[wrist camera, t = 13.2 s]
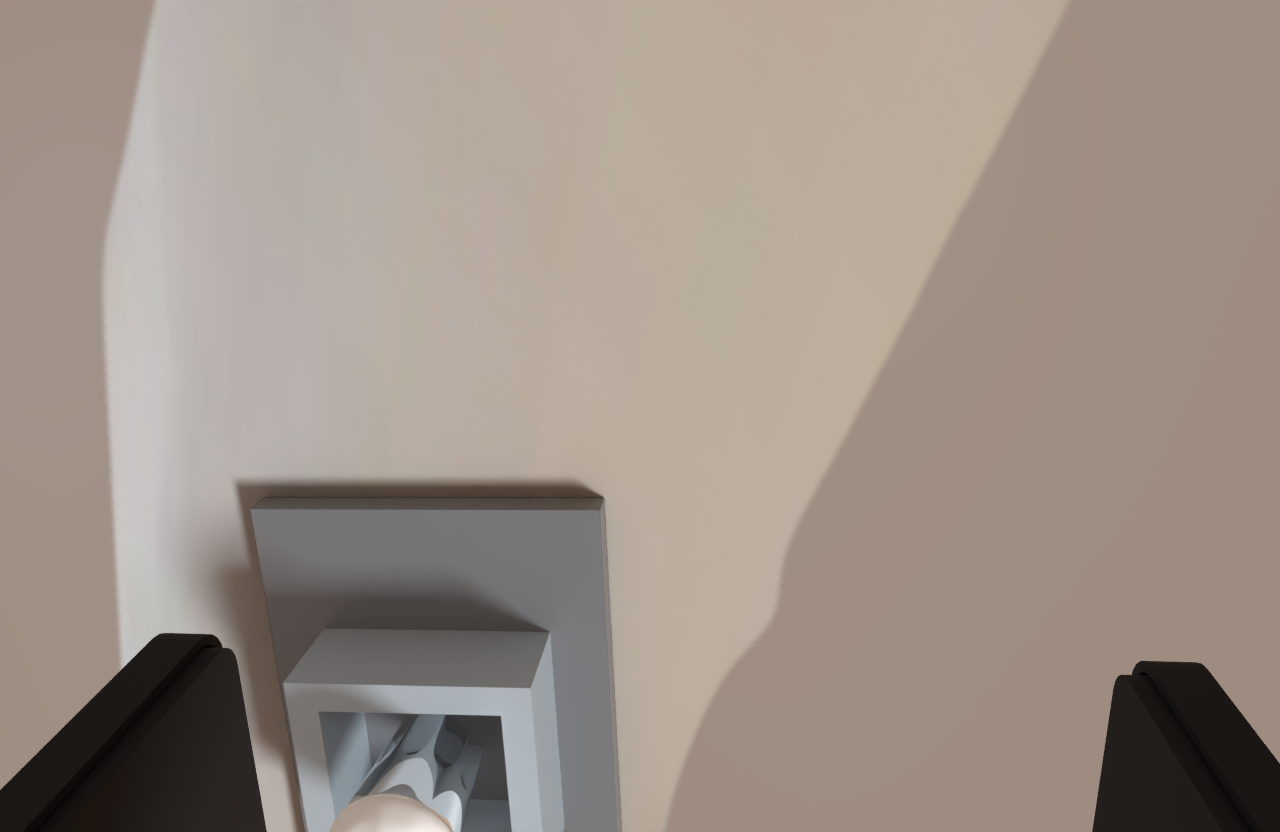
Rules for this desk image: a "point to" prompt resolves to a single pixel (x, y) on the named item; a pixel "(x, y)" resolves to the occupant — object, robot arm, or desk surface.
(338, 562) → the housing
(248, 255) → the desk surface
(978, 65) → the desk surface
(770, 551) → the desk surface
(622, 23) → the desk surface
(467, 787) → the milkshake
